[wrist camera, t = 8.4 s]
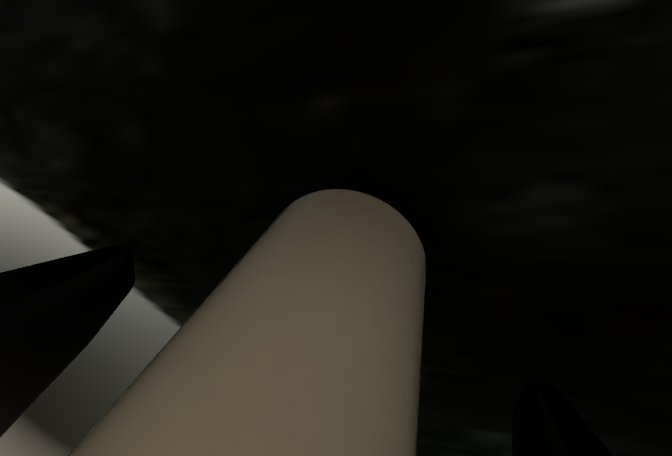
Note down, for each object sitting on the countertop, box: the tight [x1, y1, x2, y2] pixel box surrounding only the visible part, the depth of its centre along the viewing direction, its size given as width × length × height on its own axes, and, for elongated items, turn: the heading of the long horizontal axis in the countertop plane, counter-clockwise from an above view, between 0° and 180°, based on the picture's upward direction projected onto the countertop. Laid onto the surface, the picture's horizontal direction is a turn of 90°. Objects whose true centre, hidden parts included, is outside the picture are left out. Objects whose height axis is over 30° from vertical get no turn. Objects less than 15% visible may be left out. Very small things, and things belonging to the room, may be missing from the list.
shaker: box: [68, 189, 426, 456], centre depth 7 cm, size 4×4×8 cm
